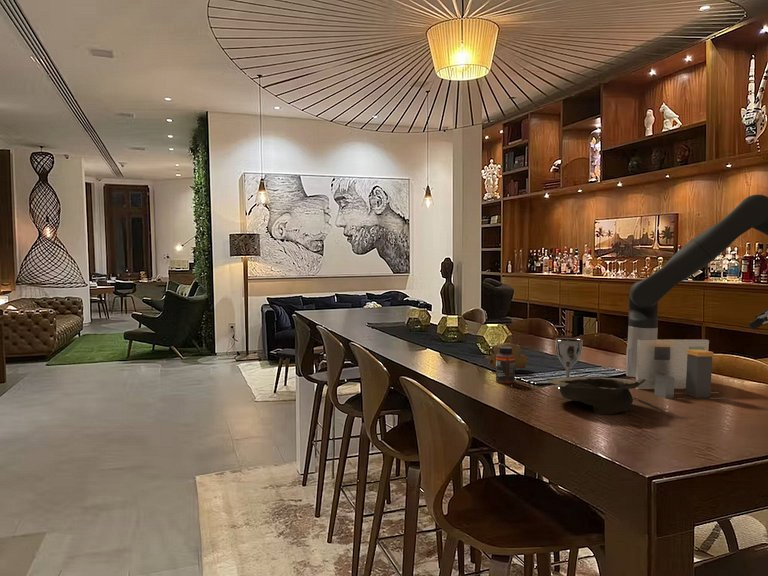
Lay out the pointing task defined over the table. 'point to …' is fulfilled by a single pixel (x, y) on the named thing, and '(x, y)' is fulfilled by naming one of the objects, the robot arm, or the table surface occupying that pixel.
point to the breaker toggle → (699, 373)
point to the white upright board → (665, 364)
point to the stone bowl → (599, 392)
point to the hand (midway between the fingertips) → (760, 326)
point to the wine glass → (568, 352)
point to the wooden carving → (519, 358)
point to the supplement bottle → (505, 366)
